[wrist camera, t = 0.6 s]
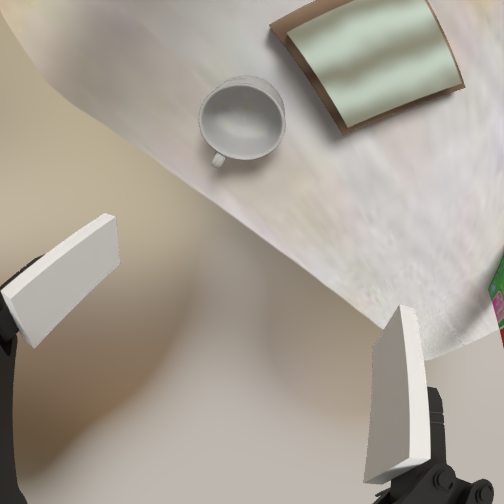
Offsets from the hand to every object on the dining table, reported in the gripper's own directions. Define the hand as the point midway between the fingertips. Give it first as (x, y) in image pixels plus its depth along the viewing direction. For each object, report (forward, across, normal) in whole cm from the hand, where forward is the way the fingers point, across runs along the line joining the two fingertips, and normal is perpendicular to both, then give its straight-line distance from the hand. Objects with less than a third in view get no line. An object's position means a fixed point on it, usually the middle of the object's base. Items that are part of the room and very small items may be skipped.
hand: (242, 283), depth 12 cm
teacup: (+34, -11, +3) cm, 36 cm away
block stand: (+32, +5, +16) cm, 36 cm away
